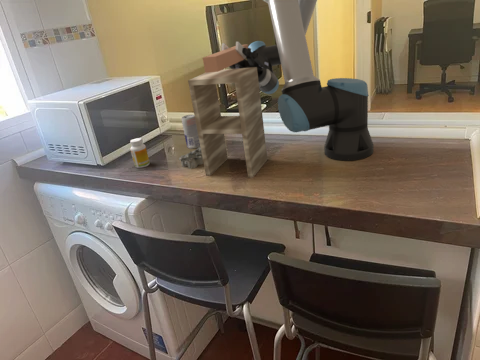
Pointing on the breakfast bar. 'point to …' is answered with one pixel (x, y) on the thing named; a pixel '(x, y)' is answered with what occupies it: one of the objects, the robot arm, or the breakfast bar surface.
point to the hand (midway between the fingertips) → (229, 46)
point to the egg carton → (192, 158)
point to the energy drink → (190, 131)
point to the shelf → (229, 118)
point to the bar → (222, 59)
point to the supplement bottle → (139, 153)
